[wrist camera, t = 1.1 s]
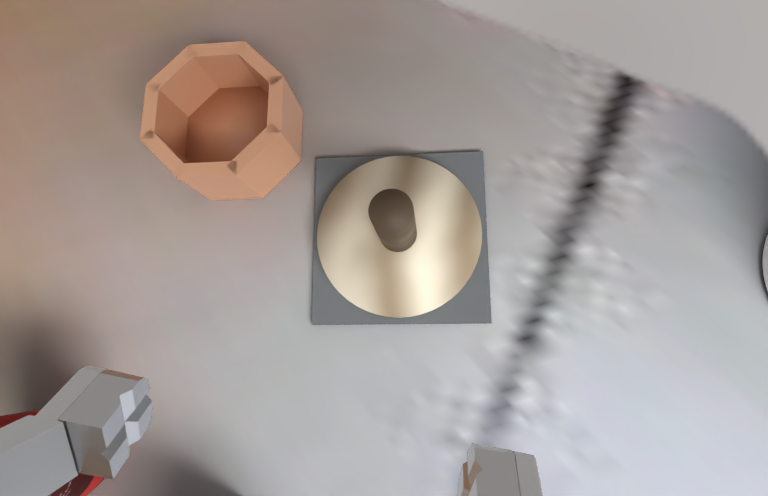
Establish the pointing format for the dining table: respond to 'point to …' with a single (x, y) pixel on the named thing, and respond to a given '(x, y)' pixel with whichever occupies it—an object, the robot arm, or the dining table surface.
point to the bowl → (223, 121)
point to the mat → (459, 310)
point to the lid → (399, 236)
